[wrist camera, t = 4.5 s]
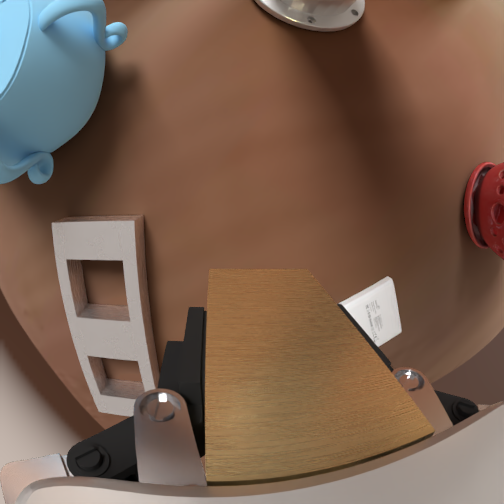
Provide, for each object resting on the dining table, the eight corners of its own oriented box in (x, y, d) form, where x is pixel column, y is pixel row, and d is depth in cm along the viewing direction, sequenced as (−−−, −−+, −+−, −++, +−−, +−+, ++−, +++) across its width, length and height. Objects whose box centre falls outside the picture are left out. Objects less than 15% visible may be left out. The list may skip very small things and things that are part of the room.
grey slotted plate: (67, 217, 22) (51, 222, 19) (143, 214, 23) (134, 220, 20) (105, 395, 28) (99, 411, 25) (165, 401, 29) (162, 419, 26)
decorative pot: (-18, 129, 17) (-99, 128, 4) (58, 9, 15) (0, -43, 2) (59, 198, 21) (-43, 228, 8) (156, 53, 19) (112, -35, 6)
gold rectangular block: (209, 268, 11) (206, 481, 3) (307, 269, 12) (435, 431, 4) (210, 350, 13) (218, 533, 4) (295, 347, 13) (365, 508, 5)
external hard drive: (285, 326, 28) (385, 274, 28) (308, 375, 31) (396, 327, 31) (289, 334, 27) (393, 279, 27) (312, 383, 29) (402, 334, 29)
